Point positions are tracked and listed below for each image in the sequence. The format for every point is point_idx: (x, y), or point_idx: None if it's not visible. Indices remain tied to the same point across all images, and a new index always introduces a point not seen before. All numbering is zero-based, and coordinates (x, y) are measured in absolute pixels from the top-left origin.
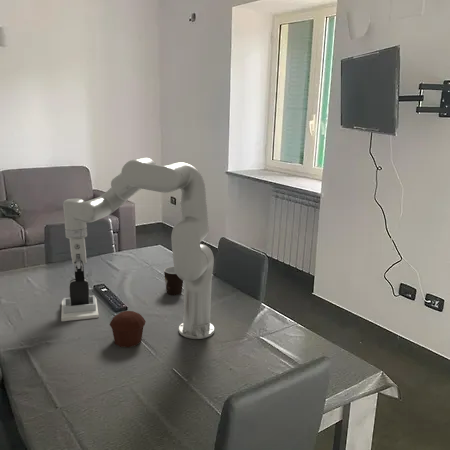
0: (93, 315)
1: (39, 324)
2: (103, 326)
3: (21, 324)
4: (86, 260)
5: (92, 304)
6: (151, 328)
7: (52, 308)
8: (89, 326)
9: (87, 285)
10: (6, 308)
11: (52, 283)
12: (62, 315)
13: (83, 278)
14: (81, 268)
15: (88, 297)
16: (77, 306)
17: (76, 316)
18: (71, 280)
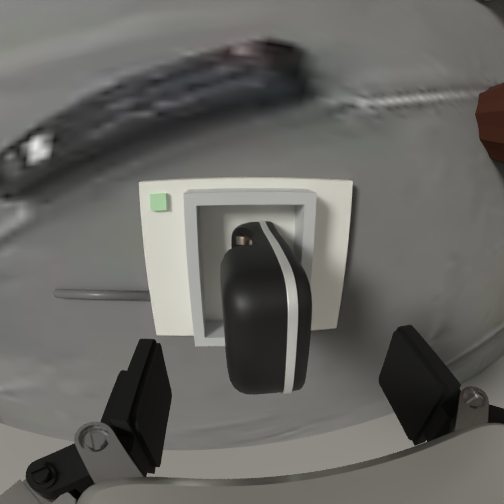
0: (349, 203)
1: (326, 377)
2: (420, 172)
3: (306, 413)
4: (443, 463)
5: (313, 210)
6: (453, 34)
7: (204, 357)
8: (405, 222)
9: (304, 271)
10: (186, 447)
11: (4, 343)
12: (312, 326)
13: (417, 341)
14: (156, 382)
15: (282, 237)
16: (310, 283)
17: (341, 275)
18: (260, 393)
